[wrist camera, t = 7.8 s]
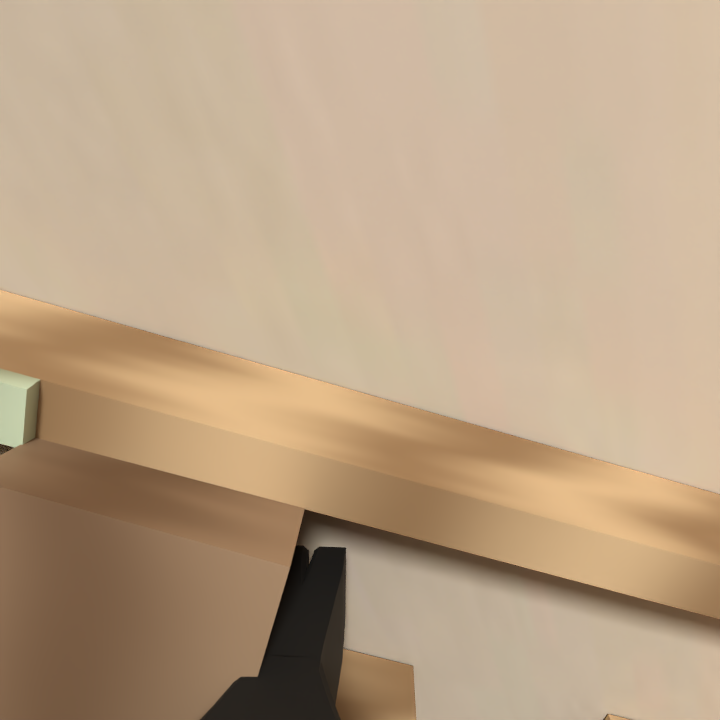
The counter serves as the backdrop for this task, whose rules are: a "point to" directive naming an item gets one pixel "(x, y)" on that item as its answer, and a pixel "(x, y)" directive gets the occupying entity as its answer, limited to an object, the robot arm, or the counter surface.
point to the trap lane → (353, 467)
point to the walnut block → (130, 586)
